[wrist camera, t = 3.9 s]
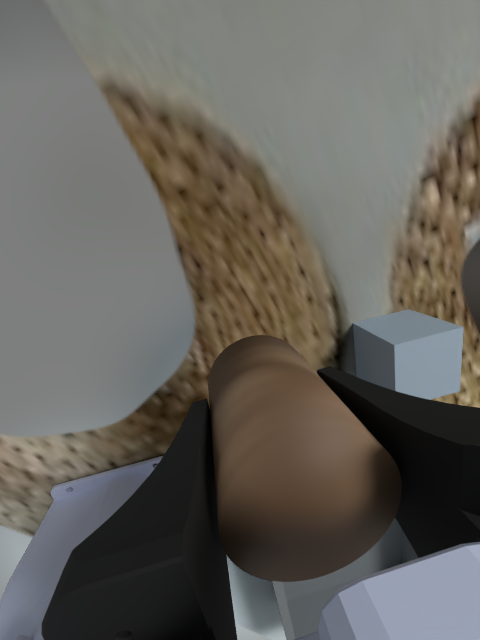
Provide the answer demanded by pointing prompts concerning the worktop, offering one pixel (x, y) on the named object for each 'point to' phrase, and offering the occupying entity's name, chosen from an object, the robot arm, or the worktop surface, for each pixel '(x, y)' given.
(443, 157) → the worktop surface
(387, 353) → the slate cube
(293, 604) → the tote
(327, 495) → the brown potato
